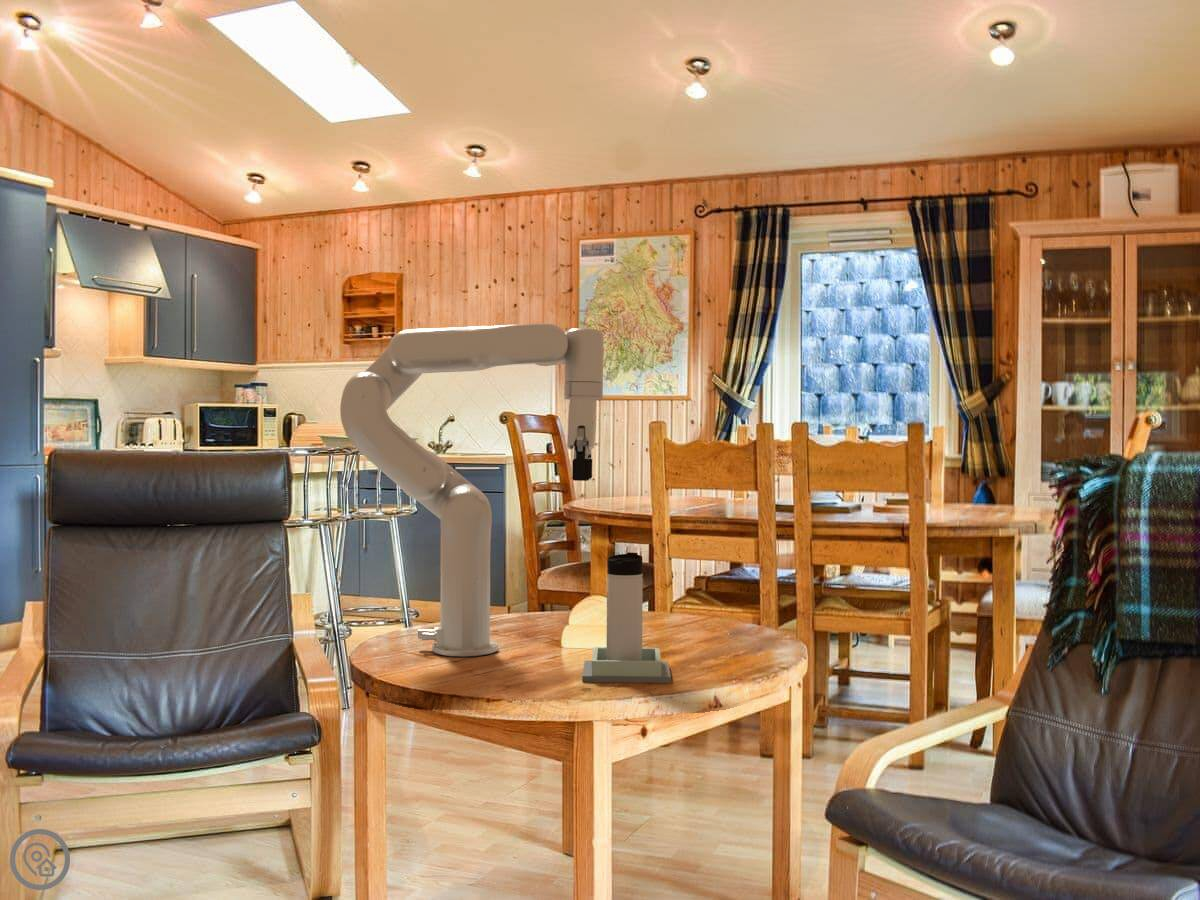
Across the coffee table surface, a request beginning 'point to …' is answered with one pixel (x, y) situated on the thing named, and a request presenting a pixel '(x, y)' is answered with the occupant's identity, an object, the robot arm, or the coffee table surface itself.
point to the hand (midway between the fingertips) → (582, 479)
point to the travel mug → (624, 607)
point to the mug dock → (627, 668)
